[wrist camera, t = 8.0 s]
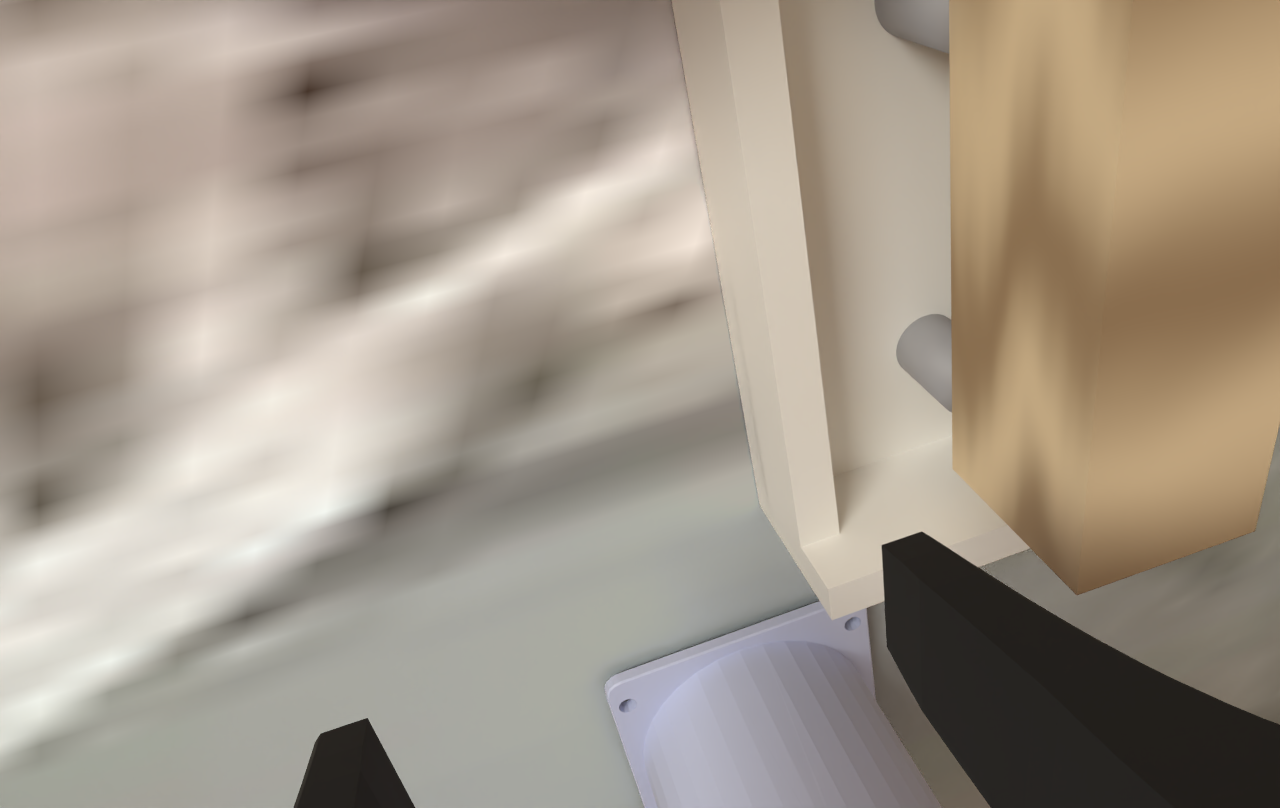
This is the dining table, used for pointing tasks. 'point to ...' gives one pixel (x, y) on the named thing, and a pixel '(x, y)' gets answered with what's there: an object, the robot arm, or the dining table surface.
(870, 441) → the peg frame
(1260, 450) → the wooden block
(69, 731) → the dining table surface
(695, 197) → the dining table surface
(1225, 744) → the robot arm
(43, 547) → the dining table surface
